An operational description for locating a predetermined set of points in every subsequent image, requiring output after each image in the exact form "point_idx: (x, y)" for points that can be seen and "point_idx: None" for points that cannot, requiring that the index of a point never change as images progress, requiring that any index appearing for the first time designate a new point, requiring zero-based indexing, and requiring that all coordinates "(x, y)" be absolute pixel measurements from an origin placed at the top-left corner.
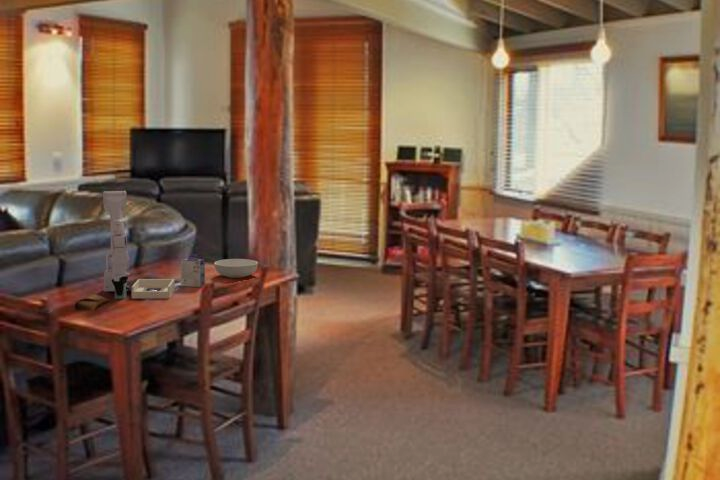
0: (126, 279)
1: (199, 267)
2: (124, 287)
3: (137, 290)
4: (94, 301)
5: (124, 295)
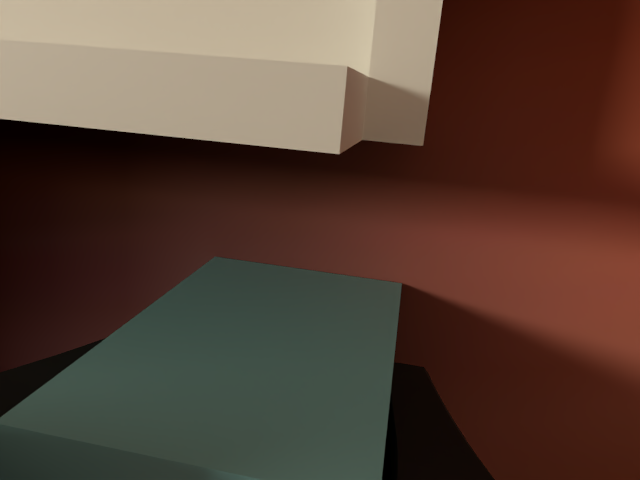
0: None
1: None
2: (337, 410)
3: (24, 19)
4: None
5: (397, 308)
